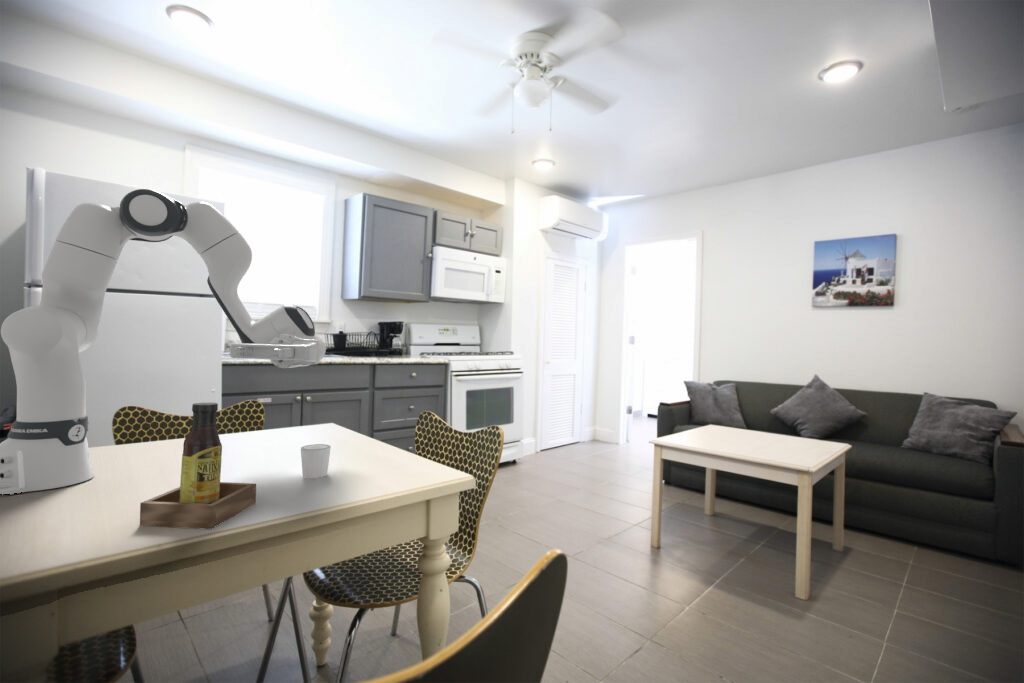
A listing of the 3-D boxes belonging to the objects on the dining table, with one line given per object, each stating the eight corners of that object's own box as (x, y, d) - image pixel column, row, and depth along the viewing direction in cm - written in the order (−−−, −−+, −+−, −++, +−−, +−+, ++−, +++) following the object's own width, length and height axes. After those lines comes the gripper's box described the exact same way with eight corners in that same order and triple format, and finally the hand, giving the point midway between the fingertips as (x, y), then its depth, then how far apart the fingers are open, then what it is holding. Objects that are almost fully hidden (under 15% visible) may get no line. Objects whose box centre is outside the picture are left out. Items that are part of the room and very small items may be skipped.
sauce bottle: (198, 517, 84) (202, 406, 84) (170, 513, 86) (173, 404, 85) (228, 505, 91) (231, 402, 90) (201, 501, 92) (204, 400, 92)
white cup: (319, 480, 111) (320, 450, 111) (293, 478, 112) (294, 448, 112) (335, 472, 118) (336, 444, 118) (310, 470, 119) (311, 442, 119)
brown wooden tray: (139, 525, 82) (140, 503, 82) (193, 500, 95) (193, 481, 95) (211, 529, 82) (212, 506, 82) (255, 503, 95) (256, 483, 95)
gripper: (249, 338, 124) (213, 337, 110) (325, 340, 123) (299, 339, 109) (248, 362, 124) (213, 364, 110) (324, 364, 123) (298, 367, 109)
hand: (256, 352), depth 110 cm, fingers open, 8 cm apart
